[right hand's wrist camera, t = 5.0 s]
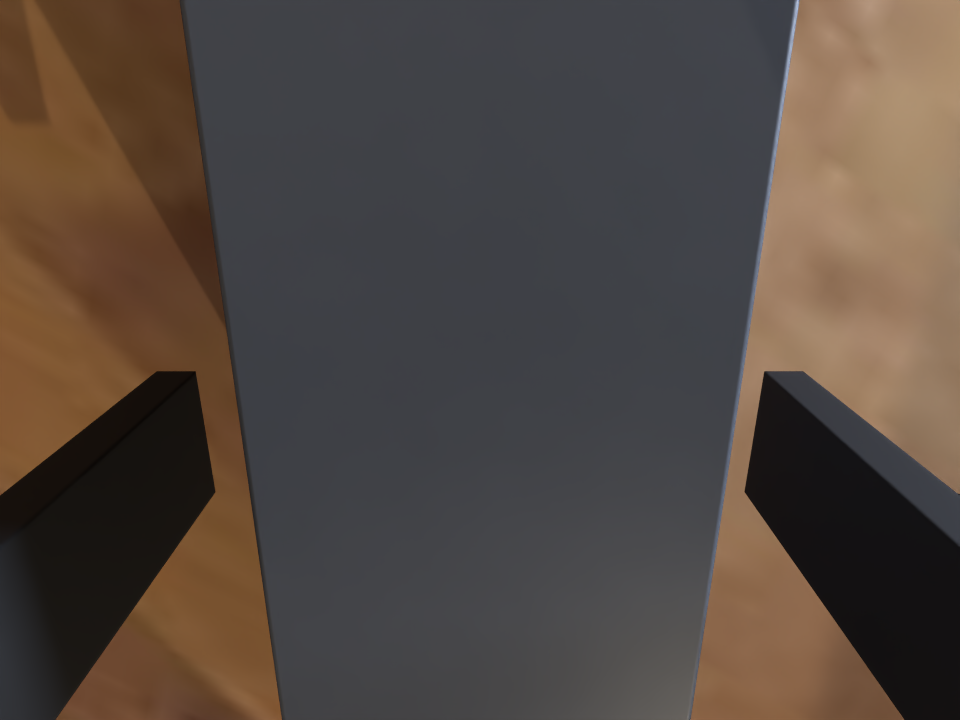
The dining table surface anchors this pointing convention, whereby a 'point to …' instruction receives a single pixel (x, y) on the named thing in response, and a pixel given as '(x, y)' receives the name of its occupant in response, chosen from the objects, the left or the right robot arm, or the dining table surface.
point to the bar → (487, 335)
